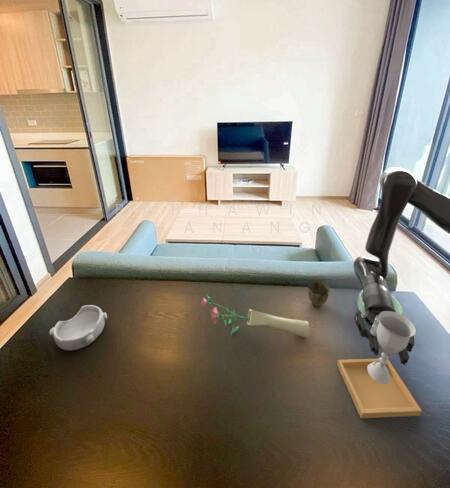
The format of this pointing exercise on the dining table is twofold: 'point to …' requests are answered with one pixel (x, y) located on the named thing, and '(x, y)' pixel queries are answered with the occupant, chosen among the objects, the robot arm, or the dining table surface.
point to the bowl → (362, 309)
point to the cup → (317, 293)
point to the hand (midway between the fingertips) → (390, 357)
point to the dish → (79, 328)
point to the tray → (377, 391)
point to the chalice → (390, 342)
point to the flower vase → (263, 320)
